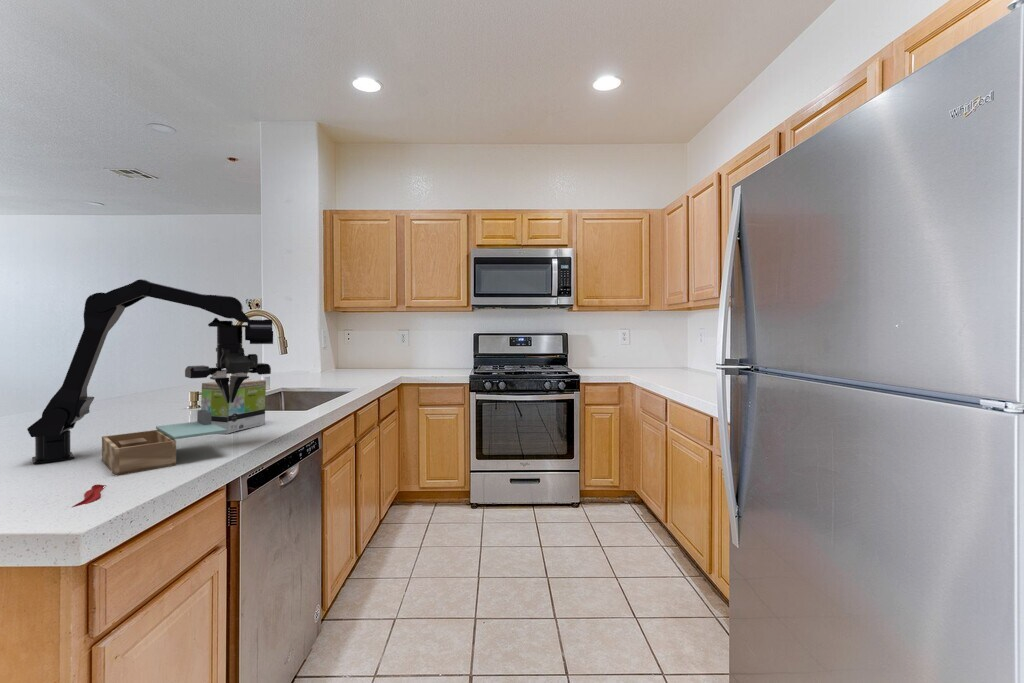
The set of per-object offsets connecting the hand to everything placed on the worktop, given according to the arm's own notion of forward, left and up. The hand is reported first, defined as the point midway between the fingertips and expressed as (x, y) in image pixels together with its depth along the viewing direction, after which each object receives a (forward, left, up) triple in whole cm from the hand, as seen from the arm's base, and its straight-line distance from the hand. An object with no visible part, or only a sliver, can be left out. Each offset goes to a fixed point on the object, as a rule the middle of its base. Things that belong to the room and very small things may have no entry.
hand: (229, 402), depth 121 cm
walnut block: (+4, -21, -10) cm, 24 cm away
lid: (+4, -10, -5) cm, 12 cm away
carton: (+4, -20, -11) cm, 23 cm away
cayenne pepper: (+24, -30, -12) cm, 40 cm away
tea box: (-21, +8, -11) cm, 25 cm away
